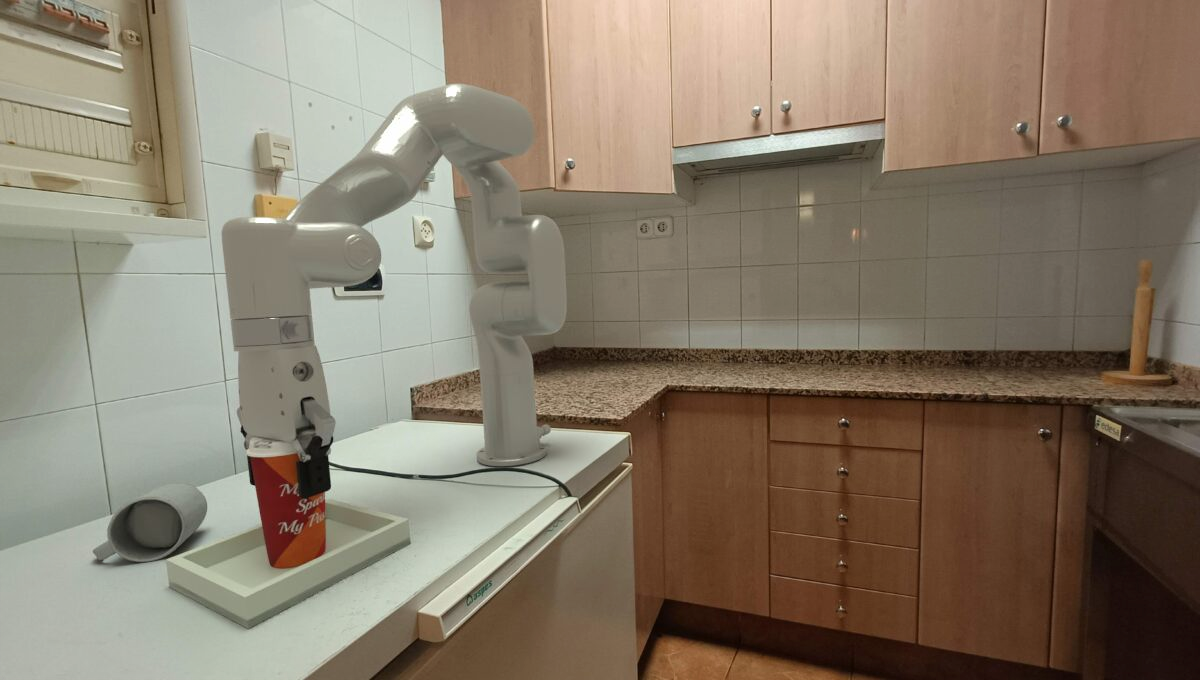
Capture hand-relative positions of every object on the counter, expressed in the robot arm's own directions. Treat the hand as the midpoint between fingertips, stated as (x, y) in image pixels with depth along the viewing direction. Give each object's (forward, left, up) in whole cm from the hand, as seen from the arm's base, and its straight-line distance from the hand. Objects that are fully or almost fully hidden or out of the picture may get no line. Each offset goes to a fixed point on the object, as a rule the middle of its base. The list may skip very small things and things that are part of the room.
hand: (290, 487), depth 59 cm
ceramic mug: (+6, -21, -9) cm, 23 cm away
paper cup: (0, 0, -8) cm, 8 cm away
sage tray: (0, 0, -9) cm, 9 cm away
